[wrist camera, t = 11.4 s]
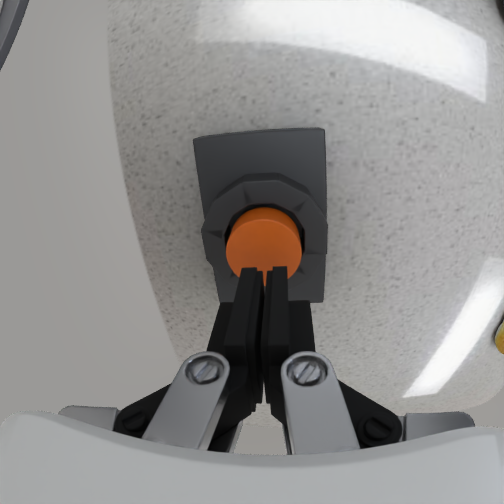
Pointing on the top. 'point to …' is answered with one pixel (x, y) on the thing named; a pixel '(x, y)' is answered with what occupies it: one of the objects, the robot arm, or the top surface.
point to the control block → (265, 197)
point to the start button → (264, 242)
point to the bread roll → (500, 338)
